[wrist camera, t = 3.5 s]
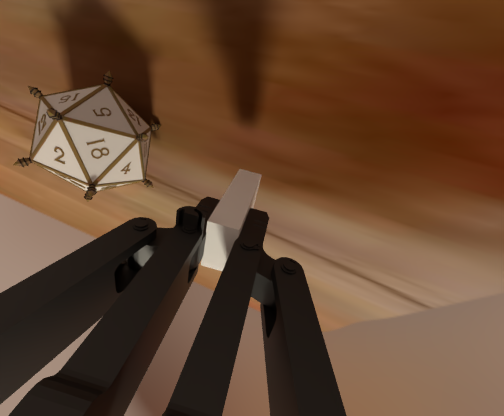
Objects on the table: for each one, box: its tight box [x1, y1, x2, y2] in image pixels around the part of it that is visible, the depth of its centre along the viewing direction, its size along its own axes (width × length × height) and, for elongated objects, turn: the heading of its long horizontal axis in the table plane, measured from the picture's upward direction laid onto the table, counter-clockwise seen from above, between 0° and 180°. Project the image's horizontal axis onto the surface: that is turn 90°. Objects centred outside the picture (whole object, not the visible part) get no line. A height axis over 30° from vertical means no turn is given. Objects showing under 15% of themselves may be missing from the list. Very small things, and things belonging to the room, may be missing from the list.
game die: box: [14, 70, 161, 202], centre depth 19 cm, size 9×8×10 cm
